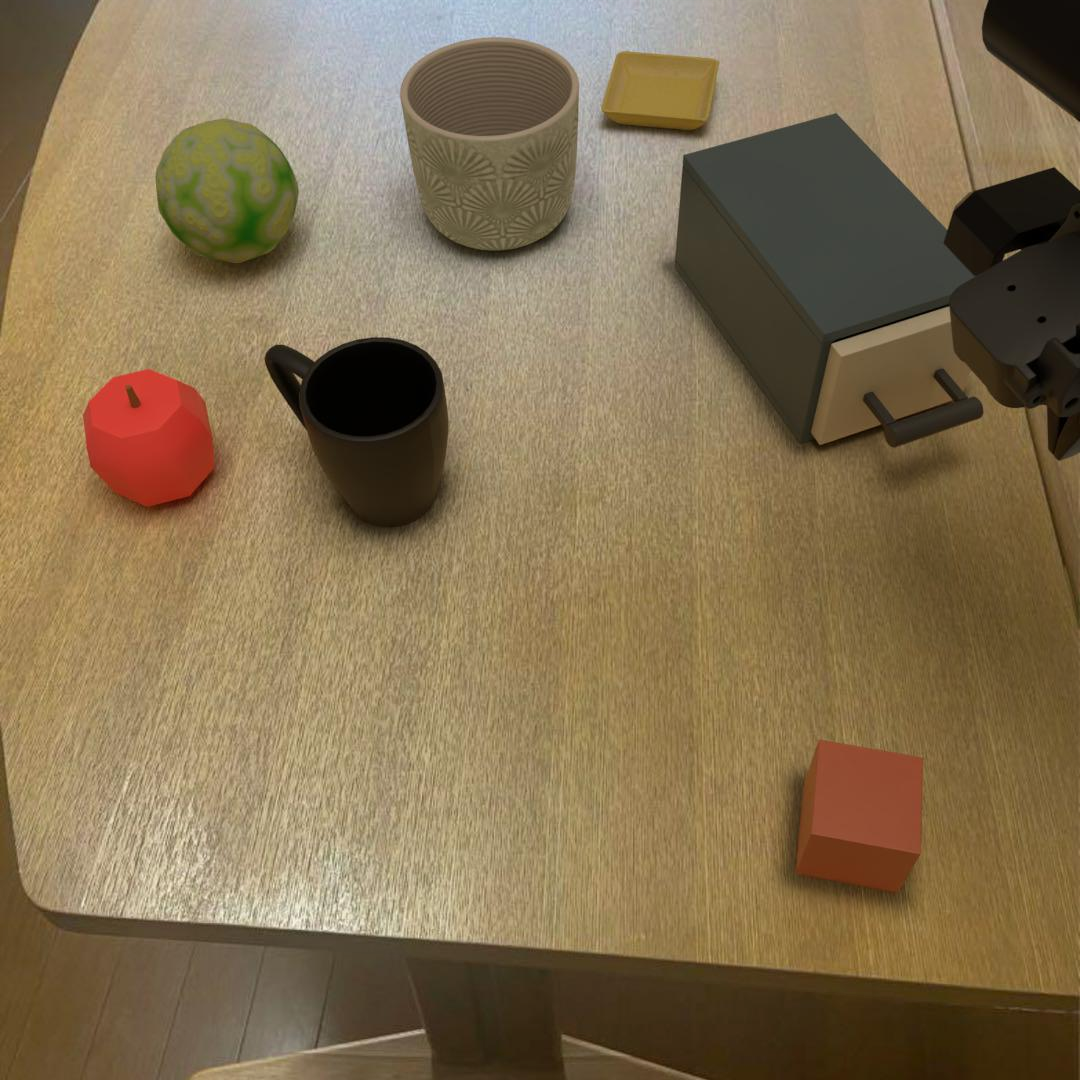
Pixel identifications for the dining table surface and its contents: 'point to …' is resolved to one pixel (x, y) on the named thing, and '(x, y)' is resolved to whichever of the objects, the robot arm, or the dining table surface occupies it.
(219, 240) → the decorative ball
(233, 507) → the dining table surface
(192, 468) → the apple
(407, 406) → the mug
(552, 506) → the dining table surface
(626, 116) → the saucer
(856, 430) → the drawer
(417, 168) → the planter
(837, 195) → the cabinet
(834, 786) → the block
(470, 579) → the dining table surface
